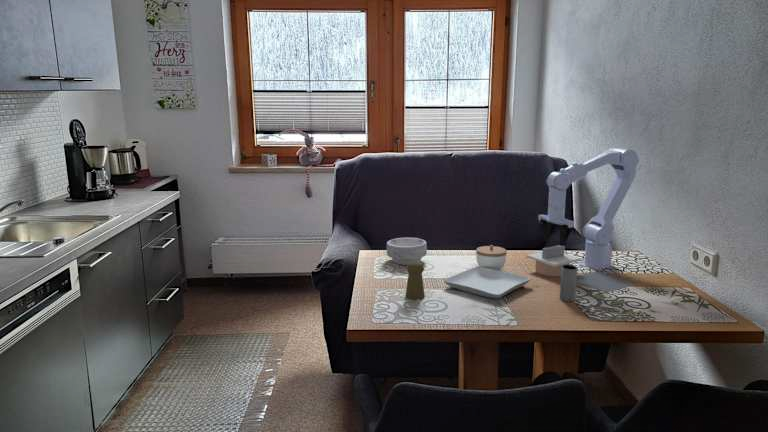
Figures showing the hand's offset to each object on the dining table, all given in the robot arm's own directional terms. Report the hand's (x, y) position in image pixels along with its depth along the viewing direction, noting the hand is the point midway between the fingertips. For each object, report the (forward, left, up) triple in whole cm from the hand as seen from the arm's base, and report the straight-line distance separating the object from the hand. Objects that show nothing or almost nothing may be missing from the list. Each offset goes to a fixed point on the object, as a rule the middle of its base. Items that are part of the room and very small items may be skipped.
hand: (554, 243), depth 194 cm
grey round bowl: (+40, -35, -10) cm, 54 cm away
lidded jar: (+20, -10, -10) cm, 25 cm away
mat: (-3, +19, -10) cm, 21 cm away
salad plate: (+33, +3, -10) cm, 35 cm away
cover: (+3, +3, -5) cm, 6 cm away
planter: (+19, +24, -10) cm, 32 cm away
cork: (+58, -2, -10) cm, 59 cm away
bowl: (+3, +3, -10) cm, 11 cm away
